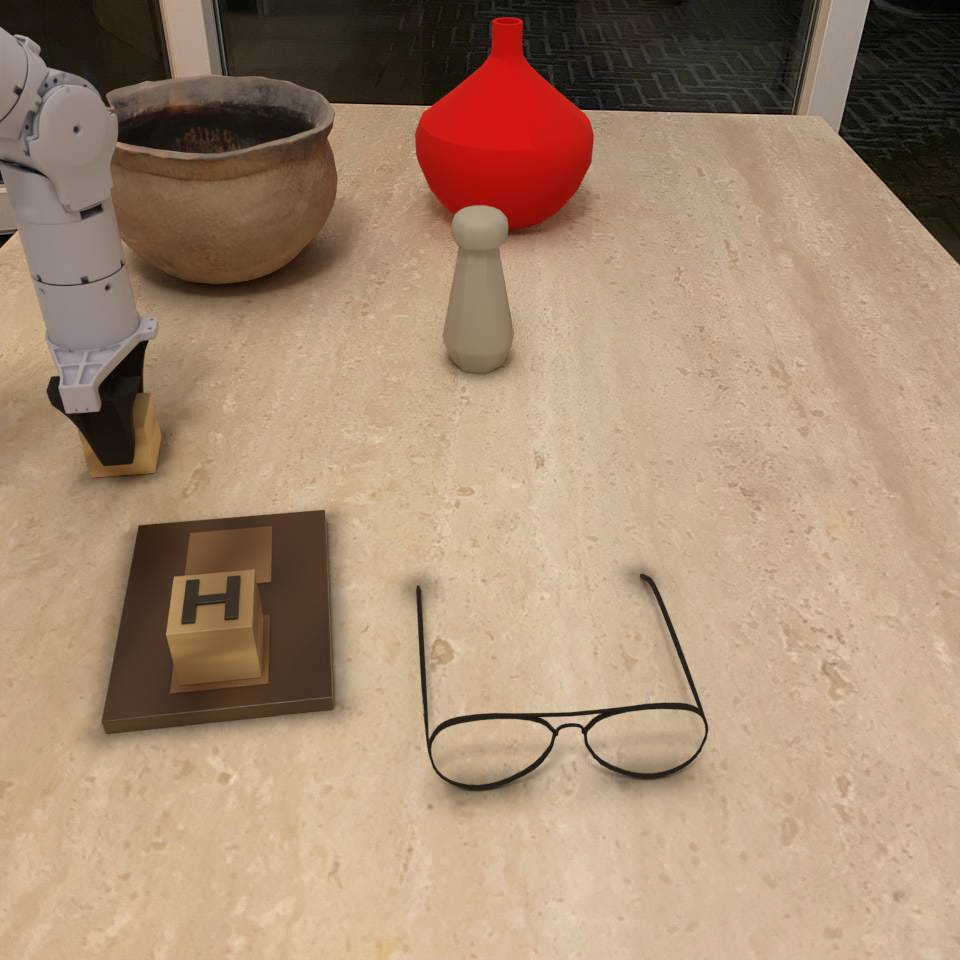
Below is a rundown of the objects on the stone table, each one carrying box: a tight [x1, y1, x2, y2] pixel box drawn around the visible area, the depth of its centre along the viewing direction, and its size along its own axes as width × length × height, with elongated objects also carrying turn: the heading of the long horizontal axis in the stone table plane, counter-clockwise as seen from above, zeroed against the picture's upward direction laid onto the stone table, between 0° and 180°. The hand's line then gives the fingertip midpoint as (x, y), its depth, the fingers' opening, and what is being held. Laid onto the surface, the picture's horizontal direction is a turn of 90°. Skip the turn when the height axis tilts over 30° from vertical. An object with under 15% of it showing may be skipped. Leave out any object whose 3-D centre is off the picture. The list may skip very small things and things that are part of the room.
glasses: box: [415, 573, 709, 791], centre depth 56 cm, size 14×15×5 cm
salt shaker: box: [442, 205, 515, 375], centre depth 79 cm, size 6×6×13 cm
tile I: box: [77, 391, 163, 479], centre depth 71 cm, size 4×4×4 cm
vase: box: [414, 16, 595, 231], centre depth 101 cm, size 18×18×19 cm
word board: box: [101, 509, 334, 734], centre depth 59 cm, size 12×16×1 cm
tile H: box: [166, 570, 264, 685], centre depth 55 cm, size 4×4×4 cm
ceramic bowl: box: [105, 73, 339, 285], centre depth 92 cm, size 22×22×15 cm
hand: (123, 441), depth 71 cm, fingers closed on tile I, 4 cm apart
